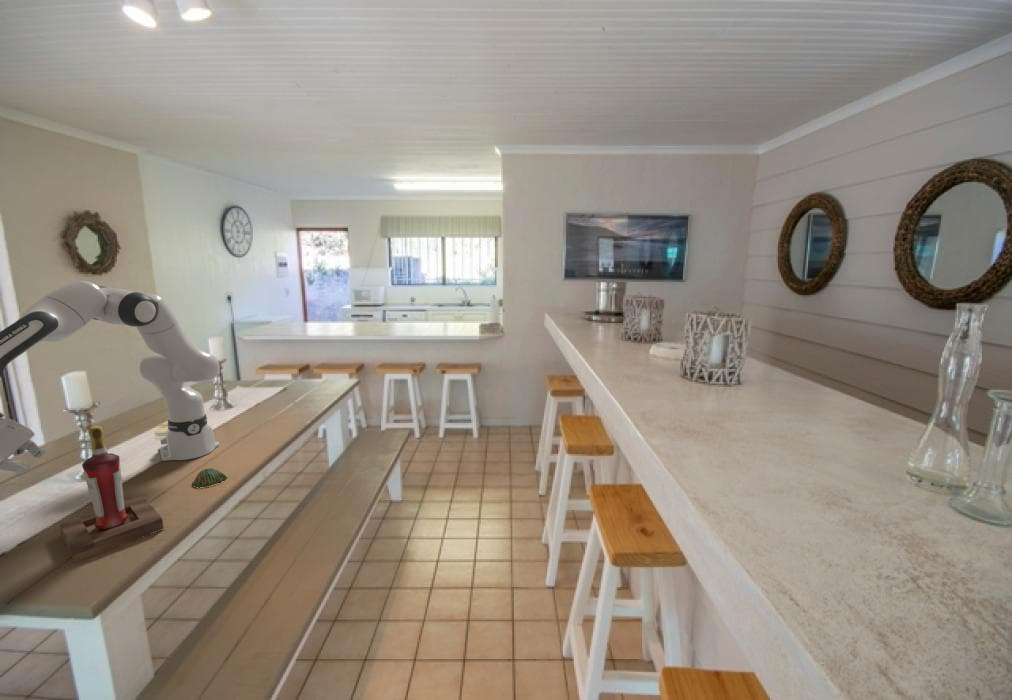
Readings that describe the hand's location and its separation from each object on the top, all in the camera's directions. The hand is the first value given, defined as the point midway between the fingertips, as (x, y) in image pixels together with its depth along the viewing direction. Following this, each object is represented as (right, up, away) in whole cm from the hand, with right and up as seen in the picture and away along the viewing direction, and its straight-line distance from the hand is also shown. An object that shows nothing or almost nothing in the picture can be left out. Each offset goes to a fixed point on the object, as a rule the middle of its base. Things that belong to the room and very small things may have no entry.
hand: (34, 462), depth 111 cm
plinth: (+11, -22, +10) cm, 26 cm away
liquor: (+11, -20, +10) cm, 25 cm away
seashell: (+18, -16, +38) cm, 46 cm away
